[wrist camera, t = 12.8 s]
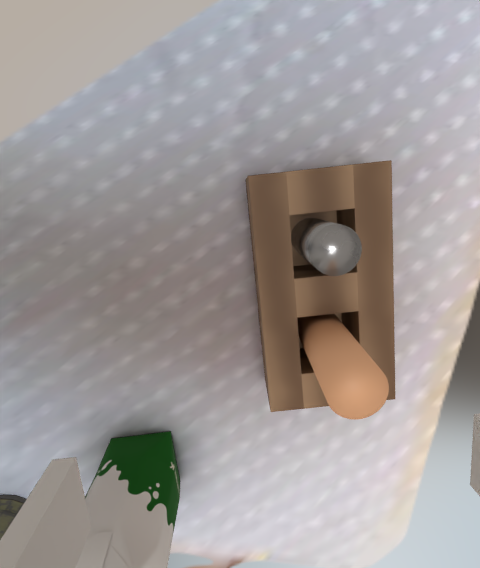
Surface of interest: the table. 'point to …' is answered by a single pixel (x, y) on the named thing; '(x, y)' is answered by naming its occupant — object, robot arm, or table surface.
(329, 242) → the steel pin
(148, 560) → the milk carton
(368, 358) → the peg
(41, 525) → the robot arm
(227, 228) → the table surface
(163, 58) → the table surface
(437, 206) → the table surface
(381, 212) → the hole block
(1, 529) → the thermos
